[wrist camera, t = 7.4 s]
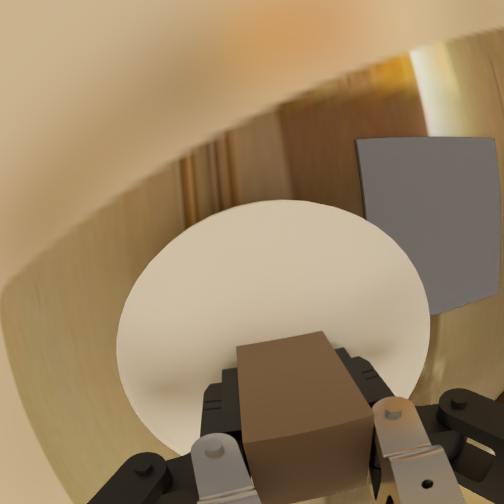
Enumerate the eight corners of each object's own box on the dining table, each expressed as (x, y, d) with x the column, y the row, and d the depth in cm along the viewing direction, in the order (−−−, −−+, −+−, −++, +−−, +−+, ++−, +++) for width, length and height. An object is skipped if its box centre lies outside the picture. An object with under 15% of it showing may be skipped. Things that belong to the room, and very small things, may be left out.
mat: (491, 138, 22) (494, 138, 22) (495, 291, 25) (497, 293, 25) (354, 140, 22) (356, 139, 21) (370, 330, 25) (372, 332, 24)
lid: (415, 182, 12) (527, 188, 6) (406, 427, 14) (455, 500, 8) (88, 232, 11) (-11, 272, 5) (172, 472, 14) (160, 562, 8)
